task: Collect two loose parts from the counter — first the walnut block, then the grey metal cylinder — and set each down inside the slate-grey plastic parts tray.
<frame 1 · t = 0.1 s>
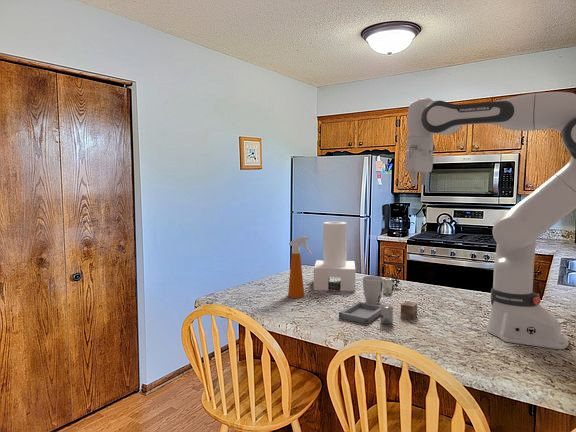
hand: (418, 185, 142), 48 cm above the counter, fingers open, 8 cm apart
valve: (389, 291, 178), on the counter
parts tray: (362, 315, 145), on the counter
walnut block: (408, 317, 143), on the counter
spray bottle: (300, 296, 170), on the counter
metal cylinder: (386, 323, 137), on the counter
cup: (372, 302, 161), on the counter
white cylinder stand: (334, 285, 189), on the counter
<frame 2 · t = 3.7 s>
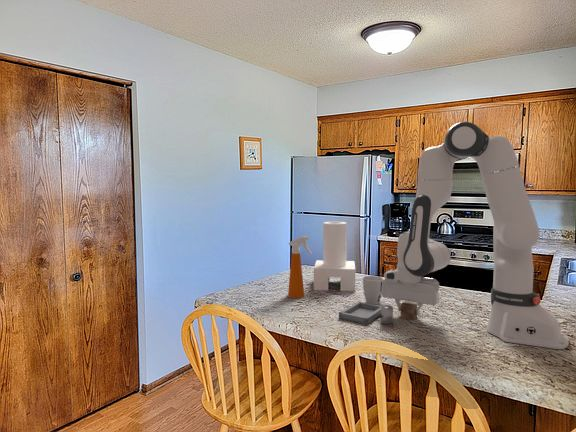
hand: (408, 312, 143), 2 cm above the counter, fingers closed on walnut block, 4 cm apart
walnut block: (408, 317, 143), on the counter, touching gripper
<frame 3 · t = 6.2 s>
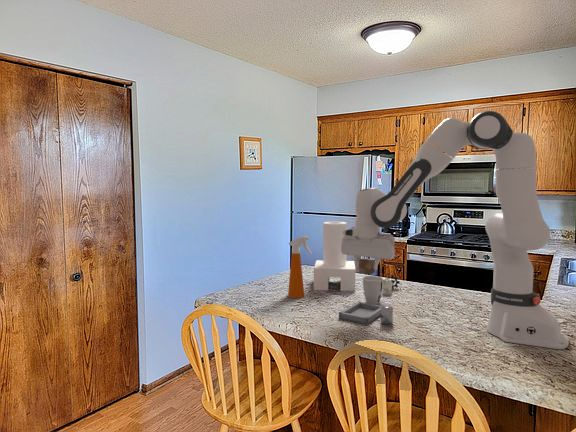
hand: (367, 268, 147), 17 cm above the counter, fingers closed on walnut block, 4 cm apart
walnut block: (367, 272, 147), point 15 cm above the counter, touching gripper
when the fingers open (4 cm above the counter, at t = 8.9 s): walnut block drops 1 cm, resting on parts tray.
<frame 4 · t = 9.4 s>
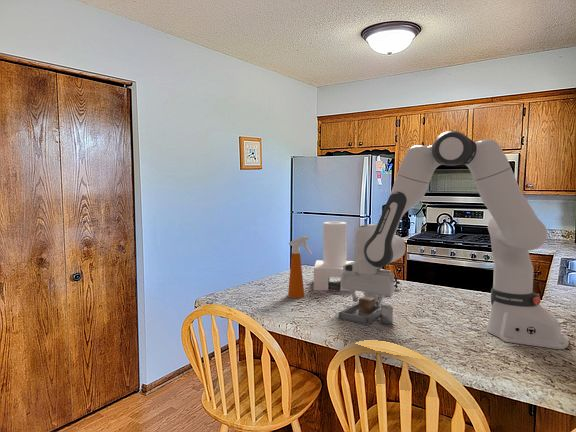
hand: (366, 303, 148), 4 cm above the counter, fingers open, 8 cm apart
walnut block: (366, 311, 148), resting on parts tray
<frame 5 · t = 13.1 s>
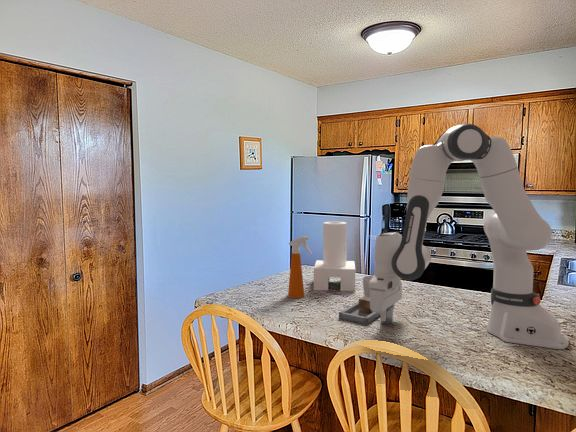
hand: (386, 318, 137), 2 cm above the counter, fingers closed on metal cylinder, 4 cm apart
metal cylinder: (386, 323, 137), on the counter, touching gripper
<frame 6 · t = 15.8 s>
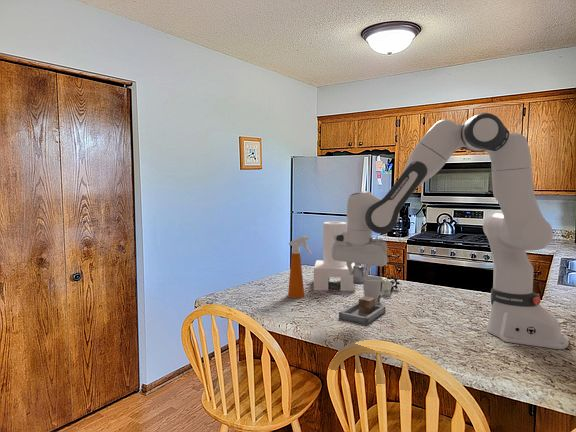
hand: (358, 275, 141), 16 cm above the counter, fingers closed on metal cylinder, 4 cm apart
metal cylinder: (358, 283, 142), point 13 cm above the counter, touching gripper
when the fingers open (4 cm above the counter, at t = 18.1 s): metal cylinder stays where it is, resting on parts tray.
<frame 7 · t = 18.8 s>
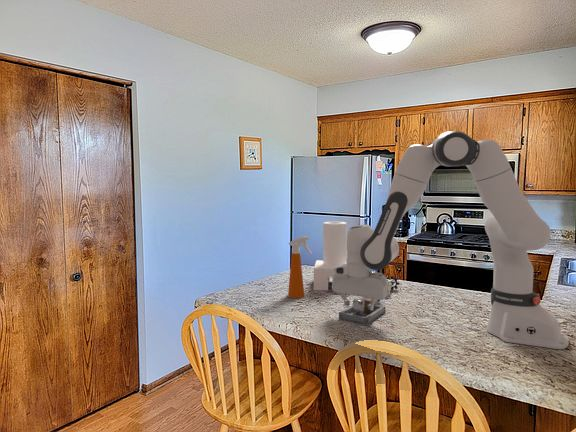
hand: (358, 307, 142), 4 cm above the counter, fingers open, 8 cm apart
metal cylinder: (358, 316, 143), resting on parts tray
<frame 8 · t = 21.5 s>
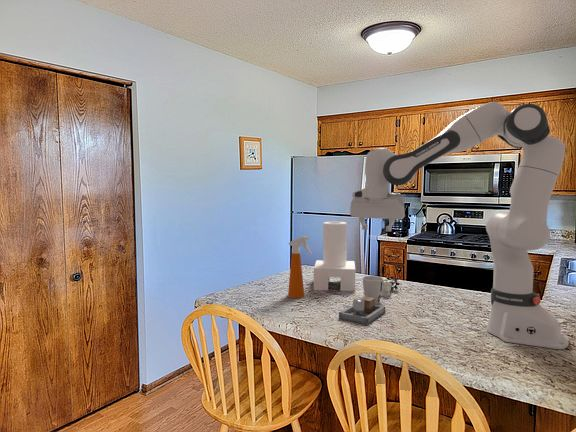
hand: (376, 230, 146), 31 cm above the counter, fingers open, 8 cm apart
at the end: walnut block inside the target area on the parts tray (3.5 cm from its centre), point 0.5 cm above the parts tray's base; metal cylinder inside the target area on the parts tray (3.5 cm from its centre), point 0.5 cm above the parts tray's base; metal cylinder tilted 0° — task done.
